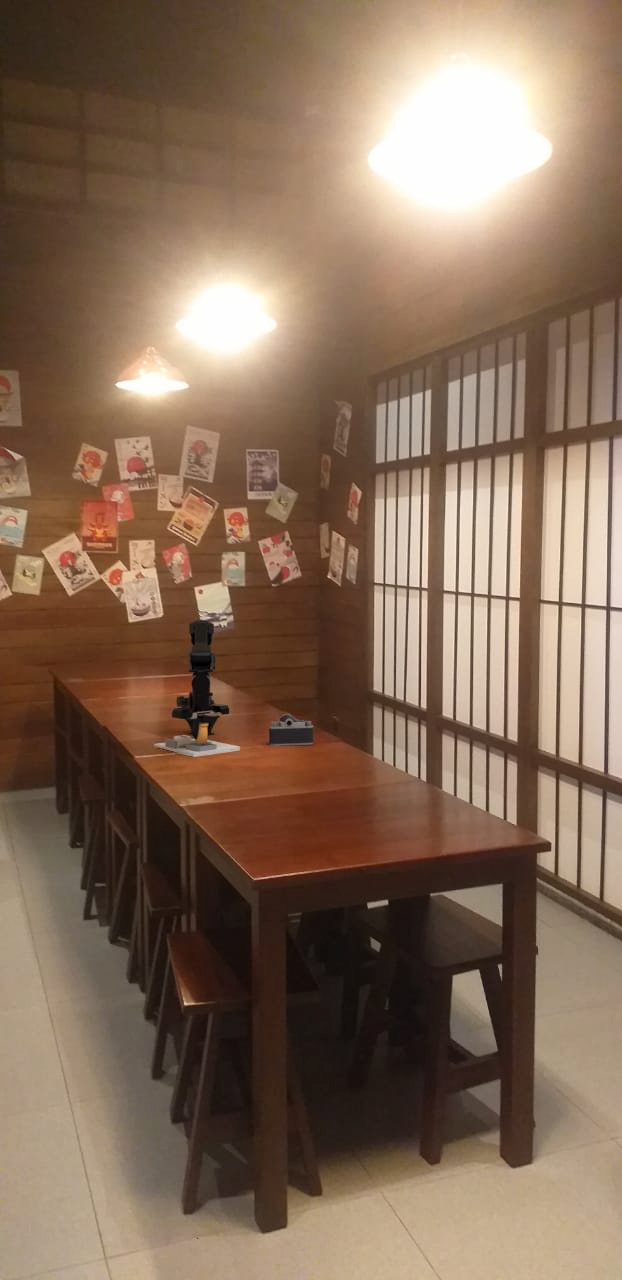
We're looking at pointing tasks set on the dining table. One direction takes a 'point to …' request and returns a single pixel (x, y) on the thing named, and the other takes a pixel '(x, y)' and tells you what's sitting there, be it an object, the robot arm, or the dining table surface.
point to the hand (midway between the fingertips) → (201, 738)
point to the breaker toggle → (182, 739)
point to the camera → (290, 732)
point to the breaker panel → (197, 747)
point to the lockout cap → (202, 733)
